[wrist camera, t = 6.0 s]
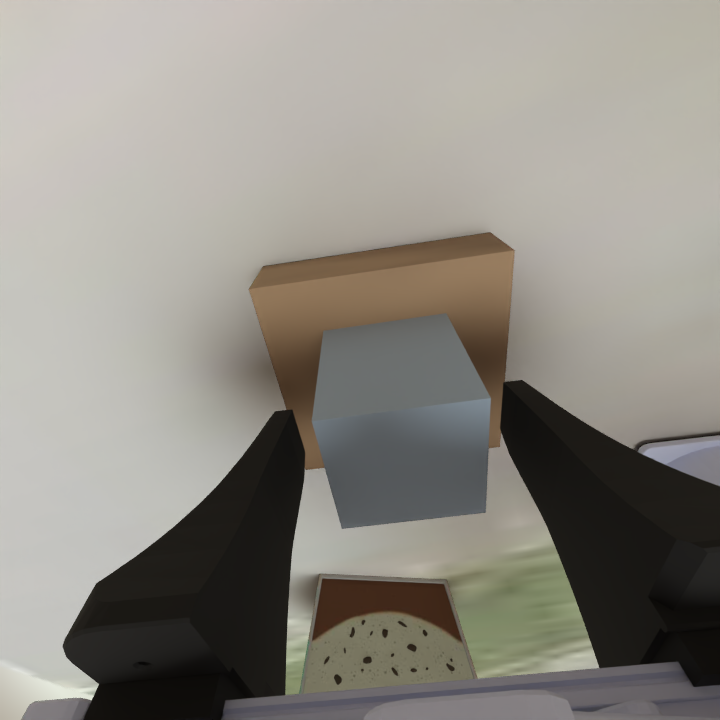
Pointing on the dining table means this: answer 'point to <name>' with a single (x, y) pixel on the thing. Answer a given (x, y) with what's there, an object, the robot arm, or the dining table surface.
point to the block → (401, 422)
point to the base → (386, 311)
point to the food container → (383, 634)
